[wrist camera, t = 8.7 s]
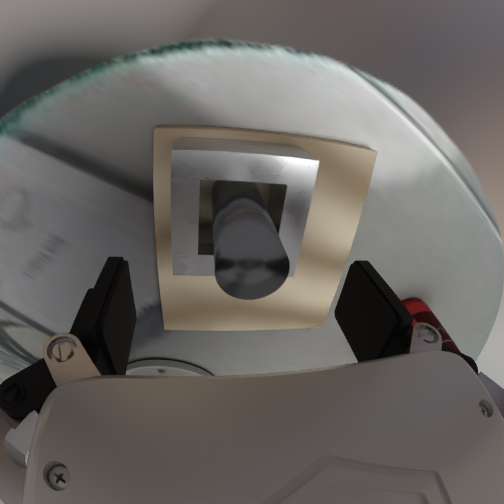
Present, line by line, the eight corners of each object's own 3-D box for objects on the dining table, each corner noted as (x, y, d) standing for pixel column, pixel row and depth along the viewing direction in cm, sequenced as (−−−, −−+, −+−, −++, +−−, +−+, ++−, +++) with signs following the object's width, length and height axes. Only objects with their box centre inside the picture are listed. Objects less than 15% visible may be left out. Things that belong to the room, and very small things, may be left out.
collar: (281, 245, 20) (293, 276, 17) (177, 243, 19) (172, 275, 16) (299, 145, 16) (319, 160, 13) (179, 136, 15) (171, 149, 12)
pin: (254, 214, 18) (283, 299, 12) (210, 213, 18) (214, 300, 11) (259, 172, 17) (295, 239, 10) (212, 170, 16) (216, 238, 10)
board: (318, 317, 26) (322, 326, 25) (165, 319, 24) (164, 329, 23) (368, 147, 18) (377, 151, 17) (157, 125, 15) (153, 128, 14)
